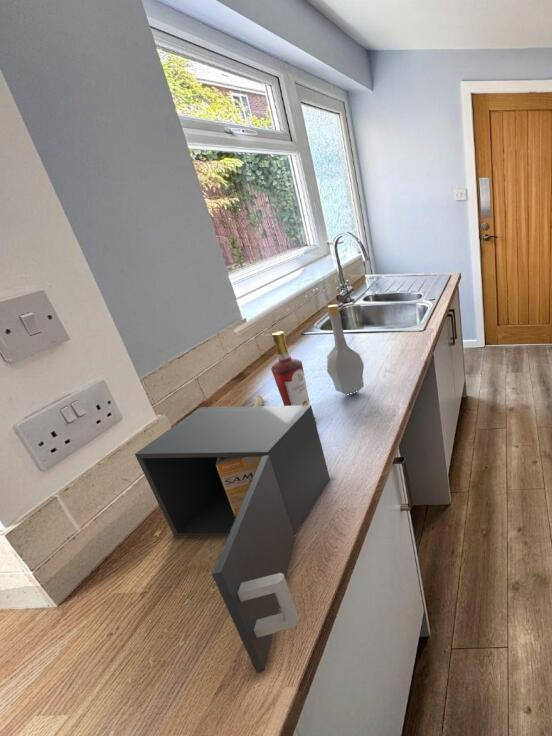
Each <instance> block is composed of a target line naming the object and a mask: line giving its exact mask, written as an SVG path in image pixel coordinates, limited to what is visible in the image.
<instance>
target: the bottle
mask: <svg viewBox="0 0 552 736" xmlns="http://www.w3.org/2000/svg"><path fill="white" fill-rule="evenodd" d="M327 310H328V317H329V320H330V324H331V328H332V333H333V337H334V347H333V348H332V349H331V350H330V352H329V354H328V355H327V357H326V358H327V362H326V363H327V364H326V372H327V374H328V375H329V377H330V378H331V380H332V382H333V387H334V389H335V391H336V392H339V393H341V394H344V395H347V394H349V395H347V396H353V395H355V394H357V393H358V392H359V391H361V390H362V389H363V388H364V387H365V385H364V384H365V383H364V376H363V375H364V368H365V364H364V361H363V359H362V357H361V354H360V353H358V352H357V351H355V350H353V349H352V348H351V347H349V346H348V344H347V341H346V338H345V333H344V329H343V324H342V319H341V318H342V317H341V312H340V311H339V305H338V304H330V305H329V304H328V305H327ZM358 390H359V391H358ZM356 391H358V392H356ZM354 392H355V393H354ZM350 393H352V394H350Z"/></svg>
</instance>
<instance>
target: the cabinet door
mask: <svg viewBox="0 0 552 736" xmlns="http://www.w3.org/2000/svg"><path fill="white" fill-rule="evenodd" d="M296 539H297V538H296V534H295V535H294V532H293V529H292V526H291V522H290V519H289V516H288V513H287V510H286V507H285V504H284V501H283V498H282V495H281V492H280V488H279V485H278V482H277V479H276V476H275V473H274V470H273V467H272V464H271V461H270V457H269V455H266V456H262V459H261V461H260V463H259V466H258V468H257V470H256V473H255V475H254V477H253V480H252V482H251V484H250V487H249V489H248V491H247V494H246V496H245V498H244V501H243V503H242V505H241V508H240V510H239V512H238V515H237V517H236V519H235V522H234V524H233V526H232V529H231V531H230V533H229V536H227V538H226V540H225V542H224V545H223V548H222V550H221V552H220V554H219V556H218V558H217V562H216V564H215V566H214V568H213V571H212V572H211V576H212V579H213V581H214V583H215V584H216V587H217V589H218V591H219V593H220V595H221V598H222V600H223V602H224V604H225V606H226V607H225V608H226V609H227V611H228V613H229V615H230V617H231V620H232V623H233V624H234V627H235V629H236V631H237V633H238V636H239V637H240V640H241V642H242V644H243V646H244V648H245V650H246V653H247V655H248V657H249V659H250V662H251V664H252V666H253V668H254V670H255V673H256V674H259V673H263V672H264V671H265V670H266V667H267V663H268V657H269V654H270V649H271V646H272V645H271V644H272V640H273V637H274V634H275V633H279V632H282V631H286V630H289V629H293V628H295V627H296V626H298V624H299V623H300V621H301V620H300V616H299V613H298V611H297V608H296V604H295V602H294V600H293V597H292V594H291V591H290V588H289V585H288V582H287V576H288V573H289V568H290V563H291V559H292V555H293V551H294V547H295V544H296V543H295V542H296ZM279 610H280V611H281V612H280V613H279Z"/></svg>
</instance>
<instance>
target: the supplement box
mask: <svg viewBox="0 0 552 736" xmlns="http://www.w3.org/2000/svg"><path fill="white" fill-rule="evenodd" d="M261 459H262V457H217V462H216V467H217V470H218V473H219V475H220V478H221V481H222V483H223V486H224V489H225V491H226V494H227V497H228V500H229V502H230V505H231V508H232V510H233V513H234V516H237V515H238V512H239V510H240V508H241V505H242V503H243V501H244V498H245V496H246V494H247V491H248V489H249V487H250V484H251V482H252V480H253V477H254V475H255V473H256V470H257V468H258V466H259V463H260V461H261Z"/></svg>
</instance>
